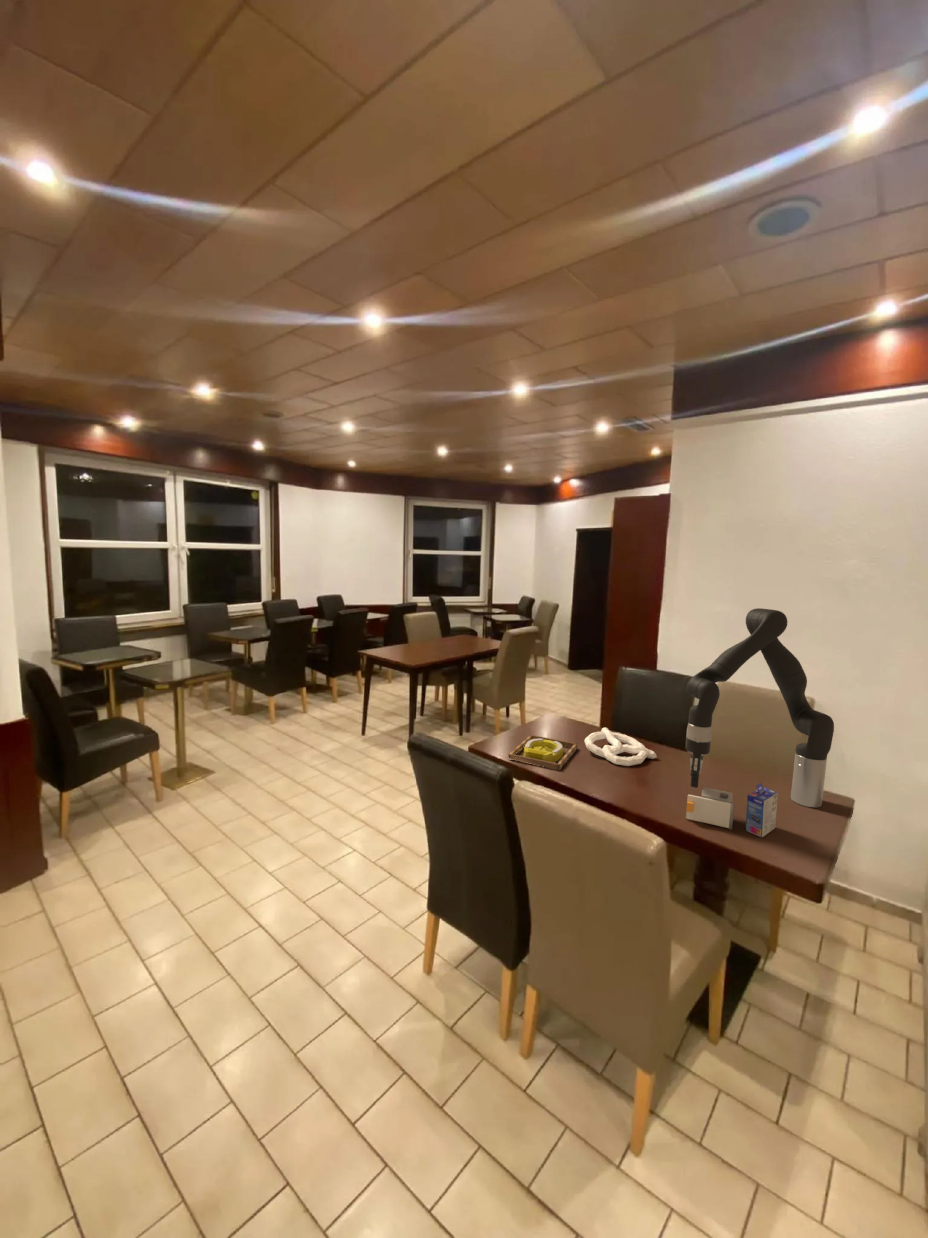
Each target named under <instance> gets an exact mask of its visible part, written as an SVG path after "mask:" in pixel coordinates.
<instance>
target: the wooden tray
mask: <svg viewBox="0 0 928 1238" xmlns="http://www.w3.org/2000/svg"><path fill="white" fill-rule="evenodd" d="M532 739H543V740H551V741H557V742H559V743H561V744H562V746H566V747H568V748H567V749H569V750H568V751H567V752H566V753H565V754H564V755H563V757H562V758H561V759H560V760H558V763H557V762H555V763H553V762H548V761H543V760H539V759H534V758H529V757H524V755H519V754H517V755H515V754H516V752H518V751H519V750H520V749H521V748H523V746H525V745H526V743H527V742H528V741H530V740H532ZM566 747H565V748H566ZM577 749H578V743H576V742H572V741H566V740H562V739H561V740H560V739H556V738H551V737H545V736H541V735H540V736H538V735H533V734H530V735H529V736H527V737H526V738H525V739H524V740H523V741H522V742H521V743H520V744H518V745H517V746H516V747H515V748H514V749H513V750H512V751H510V752H509V753H508V757H509V758H511V759H516V760H522V761H524V762H528V763H532V764H535V765H539V766H544V767H546V768H545V769H548V768H550V770H553V769H555V770H554V771H558V770H559V771H560V770H561V769H562V768H563V767H564V766H565V765H566V763H567V762H568V761H569V760H570V758H571V757H572V756H573V754H574V753H575V752H576V751H577ZM567 760H568V761H567ZM563 765H564V766H563ZM539 766H538V767H539ZM562 766H563V767H562ZM544 767H543V768H544Z"/></svg>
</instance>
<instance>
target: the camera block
mask: <svg viewBox="0 0 928 1238" xmlns="http://www.w3.org/2000/svg"><path fill="white" fill-rule="evenodd" d="M700 797H703V798H708V799H713V800H717V801H722V802H727V803H733V801H734V799H733V797H734V794H733V792H731V791H726V790H725V791H724V790H719V789H715V788H709V787H705V786H702V789H701V796H700ZM733 804H734V803H733Z"/></svg>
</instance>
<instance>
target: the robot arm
mask: <svg viewBox="0 0 928 1238" xmlns="http://www.w3.org/2000/svg"><path fill="white" fill-rule="evenodd" d="M745 625H746V628H747V631H748V633H749V636H748V637H746V638H744V639H743V640H741V641H739V642H738V643H736V644H734V645H732V646H731V647H729V648H727V649H725V650H724V651H723V652H722V653H721V654H719V656H717V658H716V659H715V660H714V661H712V663H711V664H710V665H708V666H707V667H705V668H703V669H702V670H701V671H699V672H698V673H696V674H694V675H693V676H692V677H691V678H690V679H689V681H688V682H687V685H686V691H687V693H688V694H689V696H691V697H693V698H695V699H697V700H698V703H697V705H692V706H690V708H689V711H688V720H687V721H688V723H687V728H686V737H685V749H686V751H687V752H689V753H690V756H689V763H690V766H689V770H690V777H691V779H690V787H691V788H698V787H699V779H700V777H701V776H700V775H701V772H702V768H703V764H704V755H708V754H710V752H711V744H712V743H711V742H712V732H713V731H712V726H713V724H712V723H713V722H712V721H713V715H714V711H715V709H716V708H717V707H716V706H717V705H718V702H719V699H720V688H719V685H718V684H717V683H725V682H727V681H728V680H730V678H731V677H733V675H734V674H736V673H737V672H738V670H739V669H740V668H741V667H742V666H743V665H744V664H745V663H746V662H748V660H750V659H751V658H752V657H754V656H755V655H756V654H757V653H759V652H761V654H762V655H763V659H764V660H765V663H766V664H767V666H768V668H769V670H770V672H771V675H772V678H773V679H774V681H775V683H776V685H777V687H778V688H779V692H780V695H781V696H782V698H783V700H784V702H785V704H786V707H787V711H788V713H789V716H790V719H791V722H792V724H793V727H794V728H795V729H796V731H798V732H799V733H801V734H804V736H807V741H806V742H805V743H802V742H801V743H798V744H796V745H795V750H794V751H795V752H794V753H795V754H794V763H793V774H792V780H791V781H792V782H791V791H790V799H791V801H792V802H794V803H795V804H798V805H801V806H804V807H806V808H807V807H808V808H809V807H810V808H821V806H822V804H823V795H824V789H825V788H824V786H825V779H826V769H827V761H828V760H827V759H828V754H829V753H830V751H831V749H832V742H833V737H834V731H835V724H834V720H833V718H832V717H831V716H830V715H828V714H825V713H823V712H821V711H819V710H815V709H813V708H812V707H811V705H810V703H809V701H808V699H807V697H806V694H805V693H806V689H807V687H808V678H807V675H806V673H805V670H804V668H803V666H802V664H801V662H800V661H799V659H798V658H797V657H796V655H794V654H793V653H792V652H791V651H790V650H789V649H788V648H787V647H786V646H785V645H784V644H783V643H782V642H781V641H780V639H779V637H780V636H781V635H782V634H784V633H785V631H786V629H787V627H788V618H787V615H786V614H785V613H784V612H782V611H781V610H776V609H769V608H768V609H767V608H760V607H759V608H753V609H751V610H749V611H748V613H747V614H746V616H745Z"/></svg>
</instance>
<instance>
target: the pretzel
mask: <svg viewBox="0 0 928 1238" xmlns="http://www.w3.org/2000/svg"><path fill="white" fill-rule="evenodd" d="M600 740H606V741H607V742H608V743H609V744H611V745H609V744H605V745H604V746H603V747H599V746H598V745H596V744H594V742H595V741H600ZM622 743H624V744H622ZM584 744H585V747H586V750H588V751H590V752H592V753H593V754H594V755H596V756H600V757H601V758H605V759H606V760H607V761H609V762H611V763H612V764H614V765H619V766H625V767H630V766H637V765H641V764H642V763H643V762H644V761H645V759H646V758H647V759H651V760H654V759H657V754H656V752H655V751H654V750H652V749H648V748H646V746H645V745H644V744H643V743H641V742H639V741H638V740H637V739H636V738H634V737H631V736H628V735H626V734H624V733H623V734H622V733H621V732H615V731H613V732H612V731H611V730H609V728H608V727H603V728H601V731H596V732H592V733H590V734H588V736H586V737H585V739H584ZM623 753H630V754H632V756H619V755H618V754H623ZM635 754H637V755H635Z"/></svg>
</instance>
